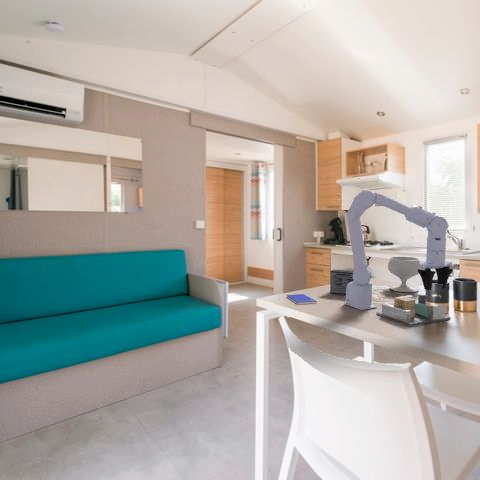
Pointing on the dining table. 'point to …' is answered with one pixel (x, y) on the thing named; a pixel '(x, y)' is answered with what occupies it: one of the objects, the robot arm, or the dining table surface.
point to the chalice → (403, 271)
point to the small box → (340, 281)
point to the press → (404, 315)
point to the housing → (405, 304)
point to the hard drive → (301, 299)
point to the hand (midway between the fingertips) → (434, 288)
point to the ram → (422, 306)
